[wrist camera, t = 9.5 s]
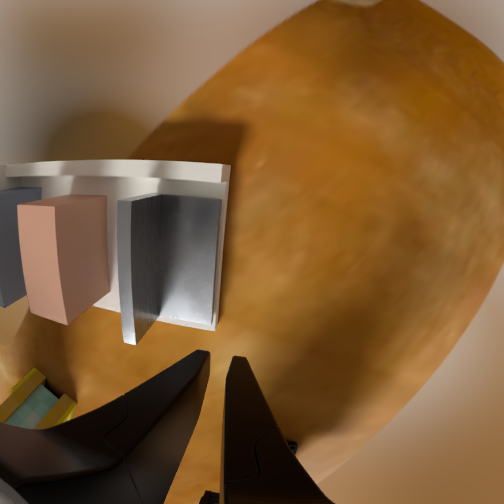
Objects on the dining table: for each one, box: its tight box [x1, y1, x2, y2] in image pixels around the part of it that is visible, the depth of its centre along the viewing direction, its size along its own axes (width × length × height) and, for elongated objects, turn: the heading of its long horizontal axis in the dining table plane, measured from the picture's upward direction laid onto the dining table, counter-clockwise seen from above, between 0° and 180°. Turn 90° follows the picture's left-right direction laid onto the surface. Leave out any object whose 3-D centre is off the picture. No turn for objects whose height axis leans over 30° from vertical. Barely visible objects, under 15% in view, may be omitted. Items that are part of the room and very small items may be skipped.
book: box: [0, 367, 77, 429], centre depth 16 cm, size 17×7×25 cm, turn 145°
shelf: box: [0, 160, 231, 331], centre depth 17 cm, size 11×19×6 cm, turn 84°
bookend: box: [117, 193, 222, 345], centre depth 16 cm, size 8×4×4 cm, turn 174°
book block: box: [17, 194, 110, 325], centre depth 16 cm, size 7×4×6 cm, turn 175°
